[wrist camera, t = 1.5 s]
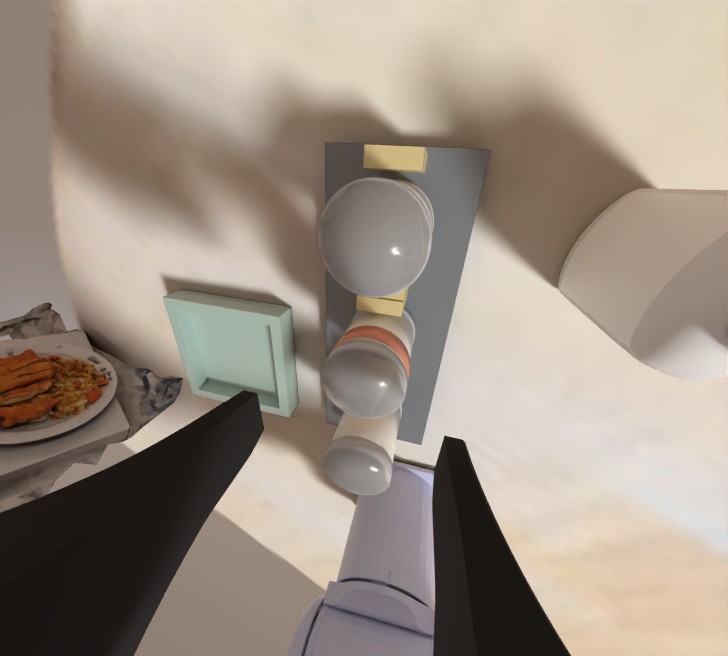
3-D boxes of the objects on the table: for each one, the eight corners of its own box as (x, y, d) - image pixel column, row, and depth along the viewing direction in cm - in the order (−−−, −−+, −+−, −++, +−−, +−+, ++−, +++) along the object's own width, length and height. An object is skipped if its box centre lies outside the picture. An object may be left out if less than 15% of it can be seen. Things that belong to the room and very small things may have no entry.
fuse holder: (422, 433, 23) (418, 479, 19) (331, 412, 24) (313, 452, 21) (486, 152, 14) (504, 140, 10) (333, 145, 15) (299, 132, 11)
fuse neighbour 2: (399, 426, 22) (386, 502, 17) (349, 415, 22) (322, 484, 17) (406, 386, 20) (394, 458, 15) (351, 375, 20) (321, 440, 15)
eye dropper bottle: (530, 252, 15) (731, 401, 5) (655, 172, 12) (1716, 112, 2) (571, 310, 16) (814, 544, 6) (694, 247, 13) (1581, 467, 3)
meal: (185, 375, 27) (5, 510, 16) (177, 399, 29) (14, 534, 18) (48, 289, 26) (-248, 369, 15) (51, 321, 28) (-205, 411, 17)
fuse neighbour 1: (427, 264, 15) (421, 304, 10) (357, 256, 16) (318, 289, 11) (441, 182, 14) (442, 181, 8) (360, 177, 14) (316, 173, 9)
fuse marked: (410, 359, 19) (400, 426, 13) (352, 348, 19) (321, 408, 14) (420, 303, 17) (411, 357, 11) (355, 294, 17) (320, 340, 12)
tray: (298, 403, 25) (289, 417, 23) (207, 382, 27) (192, 394, 25) (291, 307, 20) (279, 317, 19) (181, 289, 22) (162, 297, 21)
